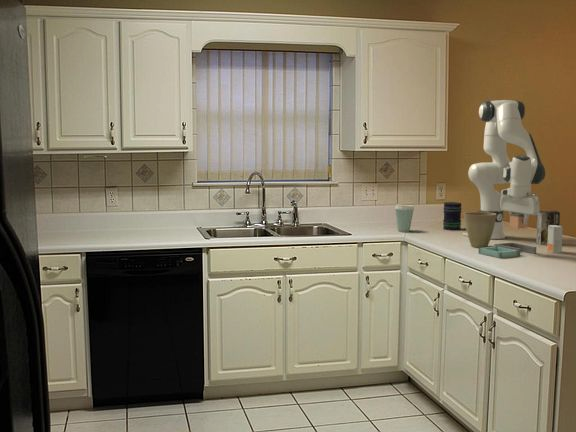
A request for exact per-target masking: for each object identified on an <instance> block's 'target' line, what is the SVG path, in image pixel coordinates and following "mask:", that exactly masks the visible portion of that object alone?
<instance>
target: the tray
mask: <svg viewBox="0 0 576 432" xmlns="http://www.w3.org/2000/svg"><path fill="white" fill-rule="evenodd" d="M478 254H479V255H482V256H483V255H484V256H489V257H492V258H496V259H497V258H498V259H505V258H513V257H514V258H515V257H519V256H518V255H519V251H518V250H513V249H508V248H503V247H498V246H495V247H494V246H487V247H485V248H478Z"/></svg>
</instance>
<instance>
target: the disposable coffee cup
mask: <svg viewBox="0 0 576 432" xmlns="http://www.w3.org/2000/svg"><path fill="white" fill-rule="evenodd" d="M394 209H395V218H396V225H397V227H396V228H397V231H398V232H400V233H408V232H410V231H411V230H410V229H411V225H412V220H413V214H414V210H415V206H413V205H410V204H399V203H398V204H395V207H394Z"/></svg>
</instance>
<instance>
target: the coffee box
mask: <svg viewBox="0 0 576 432" xmlns="http://www.w3.org/2000/svg"><path fill="white" fill-rule="evenodd" d="M536 217H537V219H536V241H535V243H536V244H538V245H540V246H541V245H546V246H547V243H548V225H557V226H560V222H561V220H560V219H561V212H560V211H558V210H540V212H539V214H538V215H536Z"/></svg>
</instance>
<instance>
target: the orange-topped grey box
mask: <svg viewBox="0 0 576 432" xmlns="http://www.w3.org/2000/svg"><path fill="white" fill-rule="evenodd" d="M524 217H525V216H524V214H523V213H516V212H515V213H513V214H510V215H509V228H513V229H518V230H519V229H526V228H528V226H529V219H528V220H527V224H523V223H522V220H523V219H524Z"/></svg>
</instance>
